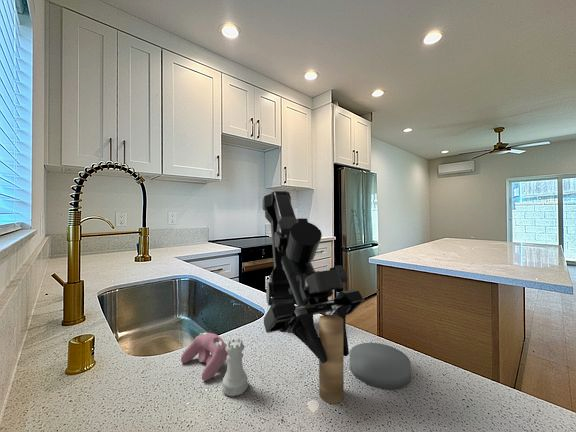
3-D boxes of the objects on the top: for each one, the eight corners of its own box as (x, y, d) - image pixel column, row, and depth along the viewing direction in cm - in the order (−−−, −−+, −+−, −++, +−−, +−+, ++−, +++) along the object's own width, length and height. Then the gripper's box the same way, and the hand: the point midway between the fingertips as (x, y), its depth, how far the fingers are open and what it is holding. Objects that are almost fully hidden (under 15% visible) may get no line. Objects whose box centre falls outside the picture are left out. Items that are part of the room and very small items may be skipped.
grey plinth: (339, 370, 48) (339, 357, 48) (365, 348, 56) (365, 337, 56) (398, 398, 41) (398, 383, 41) (418, 368, 49) (418, 355, 49)
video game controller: (222, 383, 47) (236, 343, 50) (202, 382, 44) (217, 340, 47) (196, 362, 54) (209, 328, 56) (177, 361, 51) (192, 325, 53)
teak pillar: (314, 395, 42) (314, 319, 42) (328, 383, 45) (327, 312, 45) (335, 407, 39) (334, 326, 39) (348, 394, 42) (347, 318, 42)
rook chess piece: (216, 392, 42) (215, 344, 43) (233, 377, 46) (233, 334, 46) (236, 401, 40) (236, 351, 40) (253, 384, 44) (253, 339, 44)
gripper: (269, 254, 41) (304, 355, 31) (357, 248, 50) (406, 325, 40) (253, 290, 48) (278, 381, 38) (332, 279, 57) (369, 351, 47)
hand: (336, 358), depth 41 cm, fingers closed on teak pillar, 4 cm apart
